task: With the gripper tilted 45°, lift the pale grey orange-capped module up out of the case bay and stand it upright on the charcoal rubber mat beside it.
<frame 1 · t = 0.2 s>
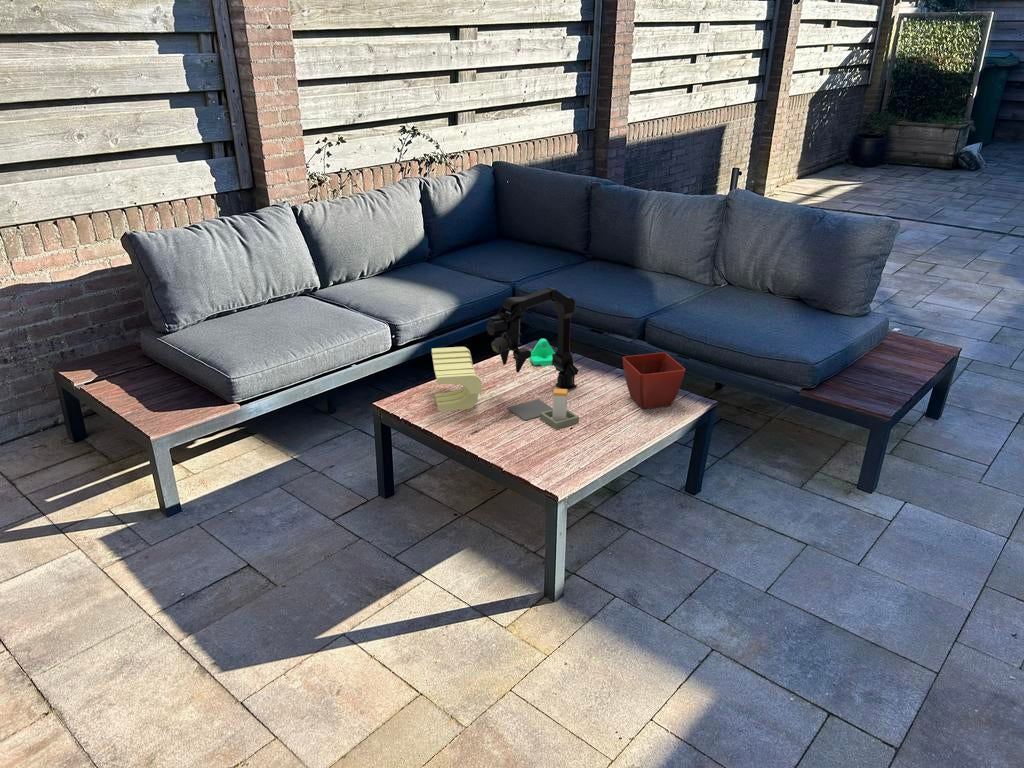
hand: (511, 368, 318), 15 cm above the table, tool pointing down, fingers open, 9 cm apart
case bay: (559, 420, 309), on the table
slatted curved stool: (456, 402, 323), on the table
rubber mat: (531, 410, 317), on the table
plant pot: (650, 402, 325), on the table
camera mount: (544, 363, 362), on the table
module: (559, 405, 306), in the case bay
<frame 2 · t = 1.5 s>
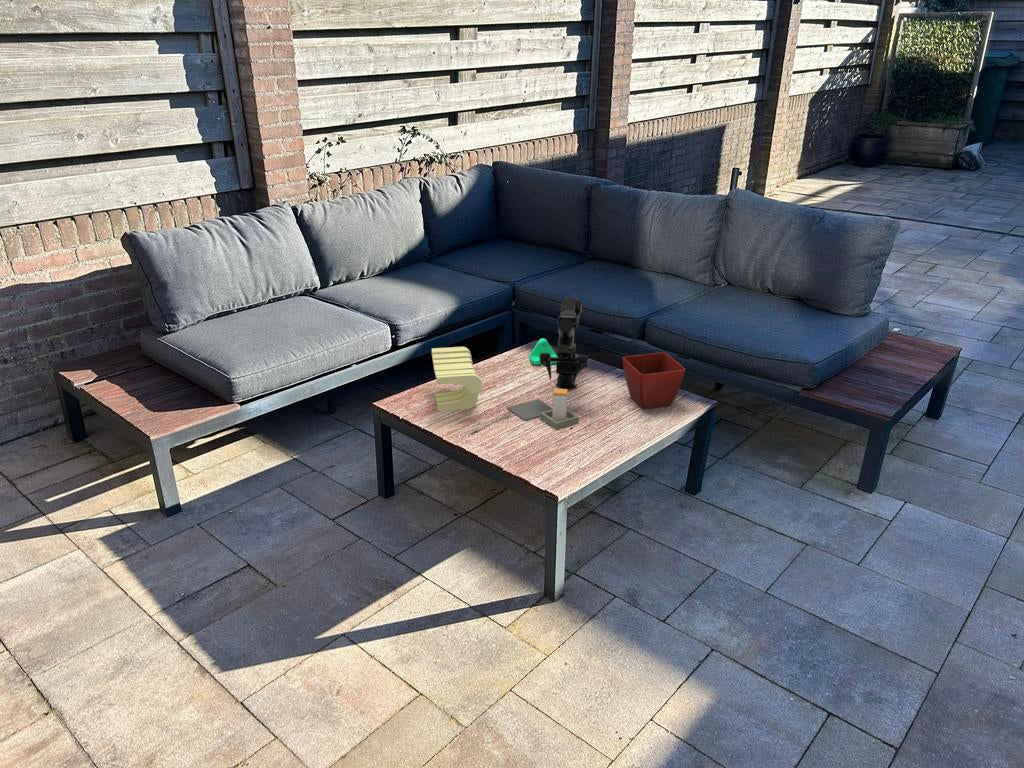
hand: (562, 380, 310), 13 cm above the table, tool tilted 45°, fingers open, 9 cm apart
nothing on the table moved.
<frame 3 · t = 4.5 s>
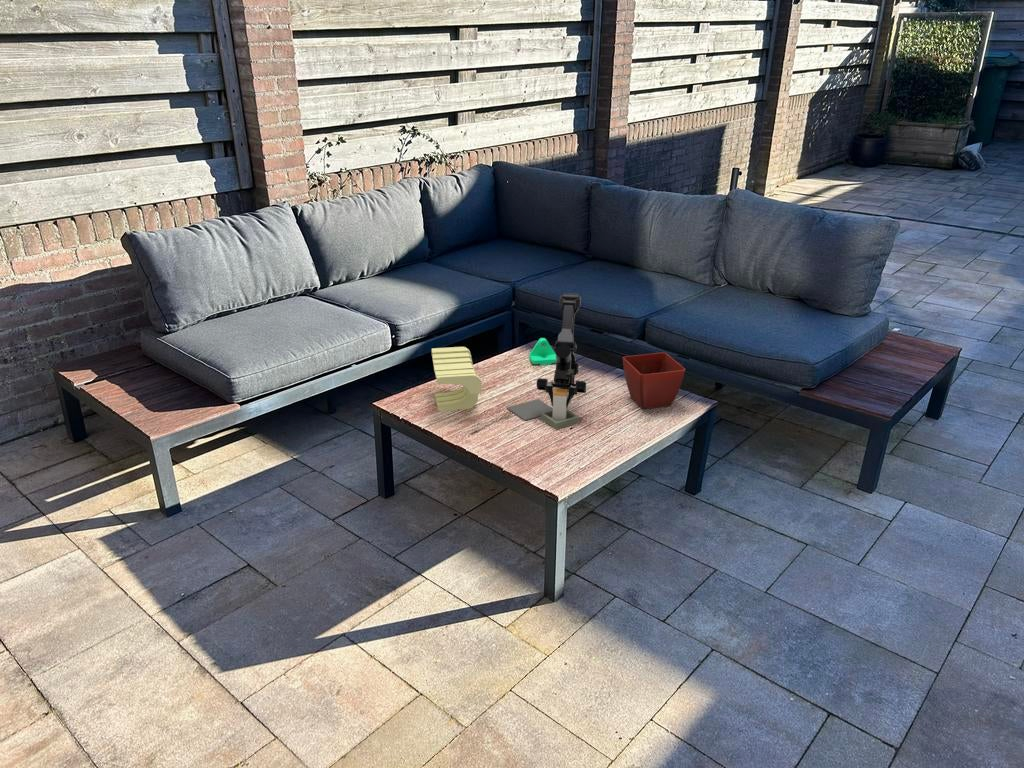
hand: (559, 406, 305), 7 cm above the table, tool tilted 45°, fingers closed on module, 5 cm apart
module: (559, 405, 306), in the case bay, touching gripper
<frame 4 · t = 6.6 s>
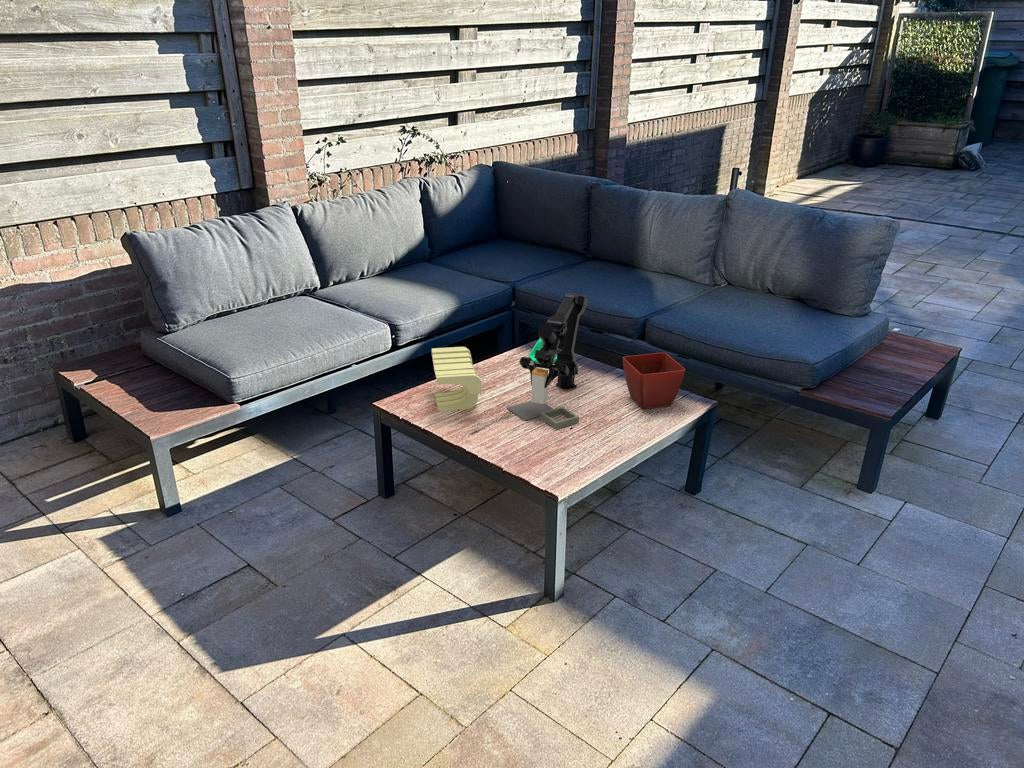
hand: (538, 386, 305), 13 cm above the table, tool tilted 45°, fingers closed on module, 5 cm apart
module: (539, 386, 306), point 13 cm above the table, touching gripper
when the fingers open (8 cm above the table, at t = 9.0 s): module drops 1 cm, resting on rubber mat.
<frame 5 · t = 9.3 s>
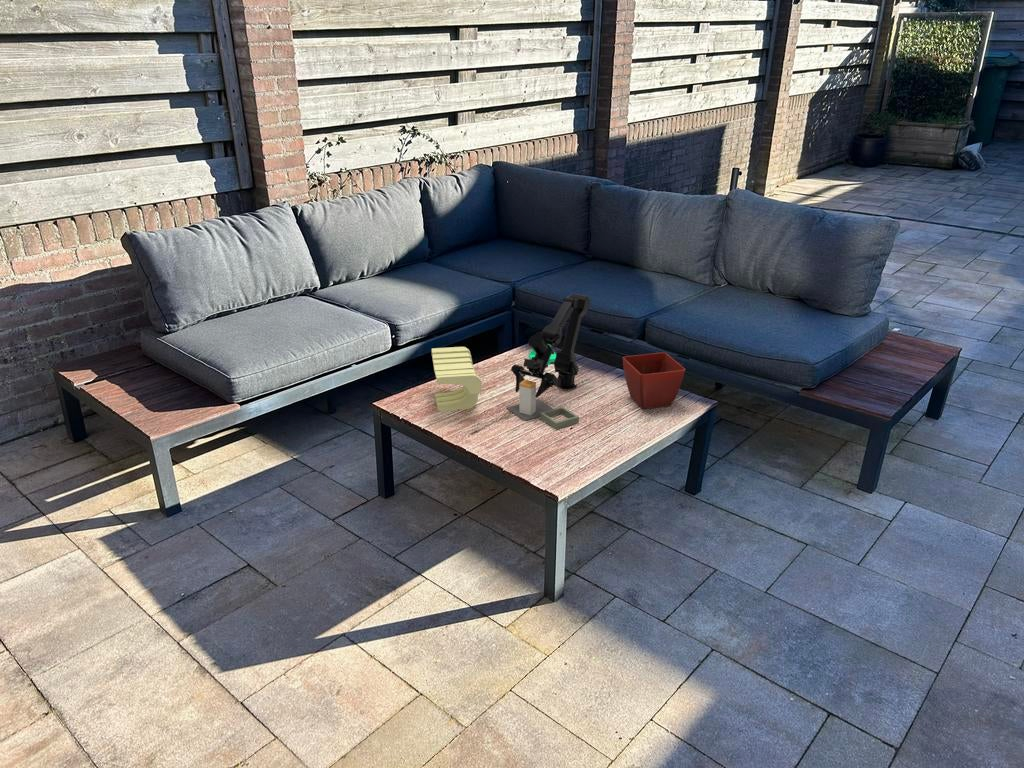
hand: (526, 394, 310), 9 cm above the table, tool tilted 45°, fingers open, 9 cm apart
module: (527, 397, 311), on the rubber mat, point 7 cm above the table
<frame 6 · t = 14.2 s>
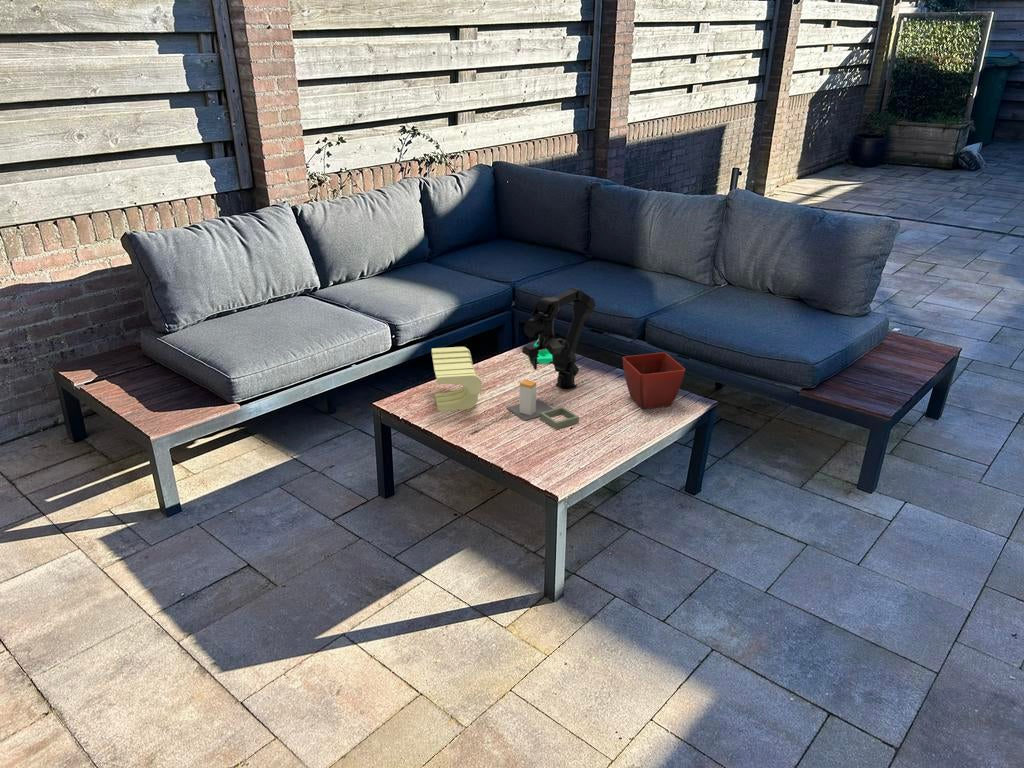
hand: (544, 367, 323), 13 cm above the table, tool pointing down, fingers open, 9 cm apart
at the end: module inside the target area on the rubber mat (2.3 cm from its centre), point 6.8 cm above the rubber mat's base; module tilted 0°; the gripper is holding nothing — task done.
